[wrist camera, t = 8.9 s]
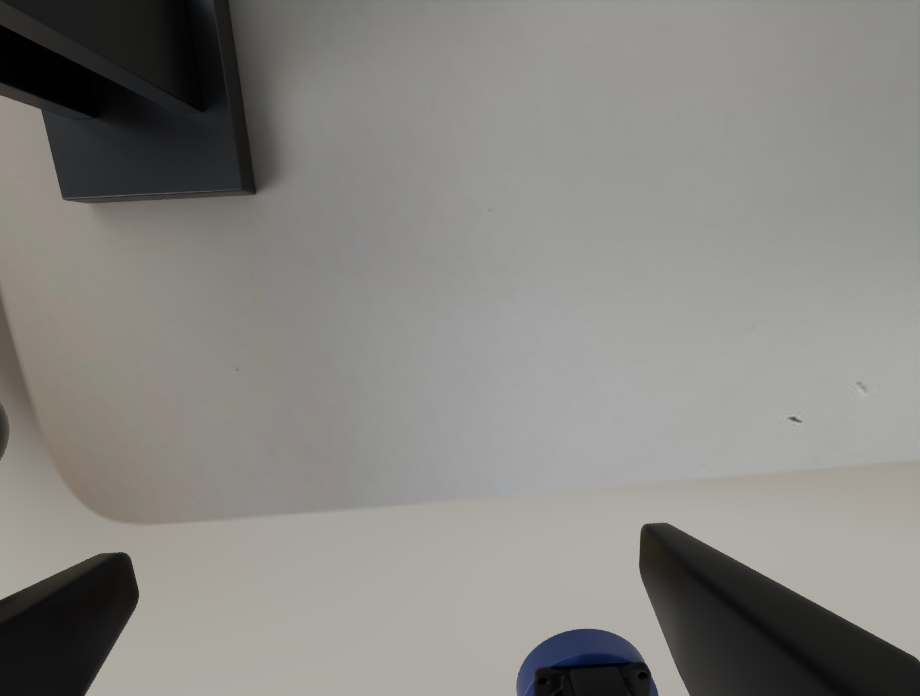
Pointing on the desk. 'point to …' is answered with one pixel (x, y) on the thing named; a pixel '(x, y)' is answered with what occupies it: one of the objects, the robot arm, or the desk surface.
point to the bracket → (131, 95)
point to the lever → (3, 430)
